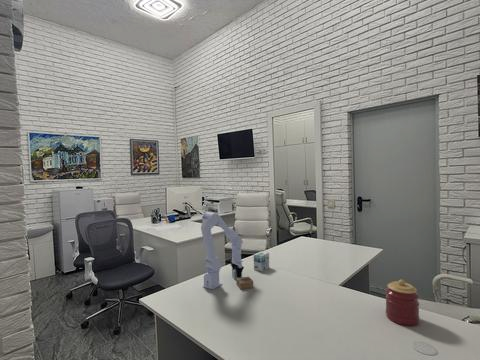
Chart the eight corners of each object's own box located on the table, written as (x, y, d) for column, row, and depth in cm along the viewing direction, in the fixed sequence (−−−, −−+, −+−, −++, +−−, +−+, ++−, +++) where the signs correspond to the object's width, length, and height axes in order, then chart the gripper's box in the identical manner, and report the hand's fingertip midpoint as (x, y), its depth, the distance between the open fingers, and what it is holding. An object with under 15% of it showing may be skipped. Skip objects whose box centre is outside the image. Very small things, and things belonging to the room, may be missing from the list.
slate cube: (242, 278, 169) (241, 270, 169) (234, 279, 168) (234, 272, 167) (239, 276, 174) (239, 268, 174) (232, 277, 172) (232, 269, 172)
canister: (403, 329, 111) (402, 287, 111) (379, 313, 124) (378, 276, 123) (426, 323, 115) (426, 283, 115) (401, 309, 127) (400, 273, 127)
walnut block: (253, 288, 155) (253, 281, 155) (240, 290, 153) (240, 283, 153) (249, 283, 163) (248, 276, 163) (236, 284, 160) (236, 278, 160)
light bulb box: (261, 271, 181) (261, 256, 181) (253, 269, 185) (253, 254, 185) (269, 267, 189) (269, 252, 189) (261, 265, 193) (261, 250, 193)
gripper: (246, 256, 165) (246, 278, 165) (238, 250, 179) (239, 270, 179) (235, 258, 163) (236, 280, 163) (228, 252, 176) (229, 272, 176)
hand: (237, 275), depth 171 cm, fingers open, 7 cm apart
